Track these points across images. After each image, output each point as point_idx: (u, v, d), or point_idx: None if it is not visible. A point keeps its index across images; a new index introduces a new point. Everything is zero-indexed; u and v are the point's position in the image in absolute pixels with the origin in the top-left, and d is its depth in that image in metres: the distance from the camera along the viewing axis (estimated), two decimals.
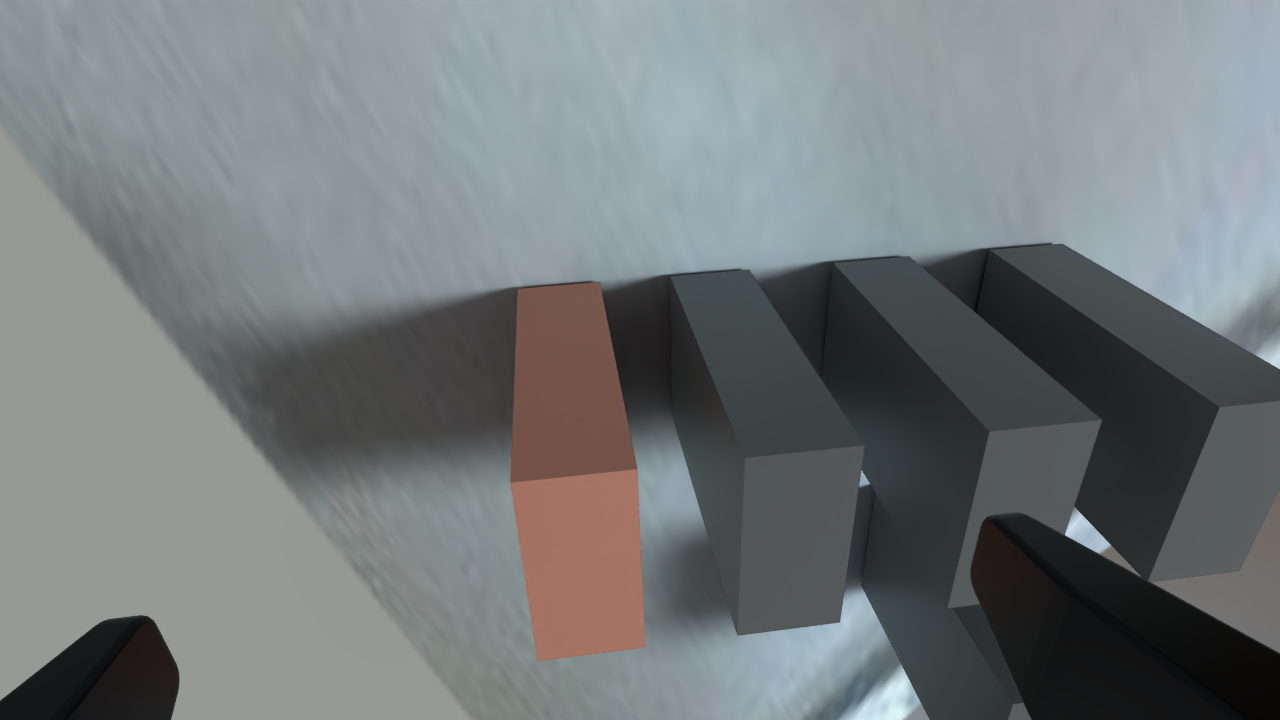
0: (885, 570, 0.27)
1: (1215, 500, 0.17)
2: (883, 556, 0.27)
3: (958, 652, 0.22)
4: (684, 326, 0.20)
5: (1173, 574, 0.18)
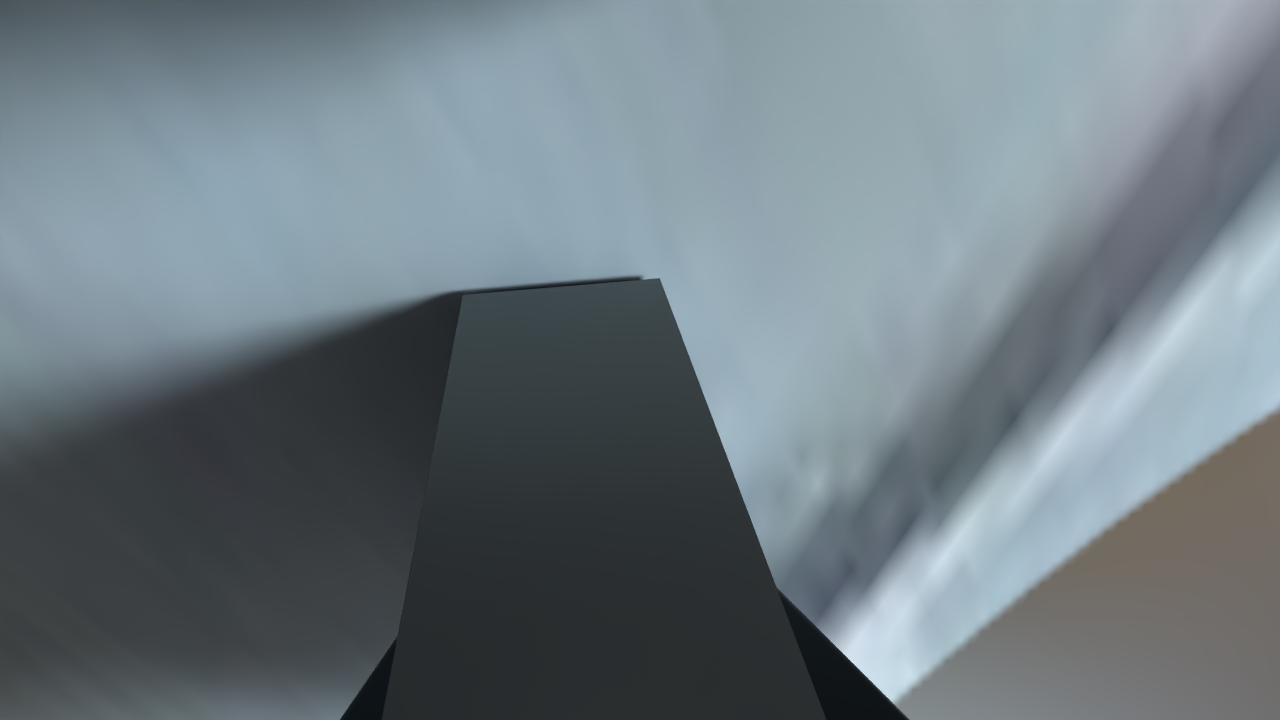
0: None
1: None
2: None
3: None
4: None
5: None
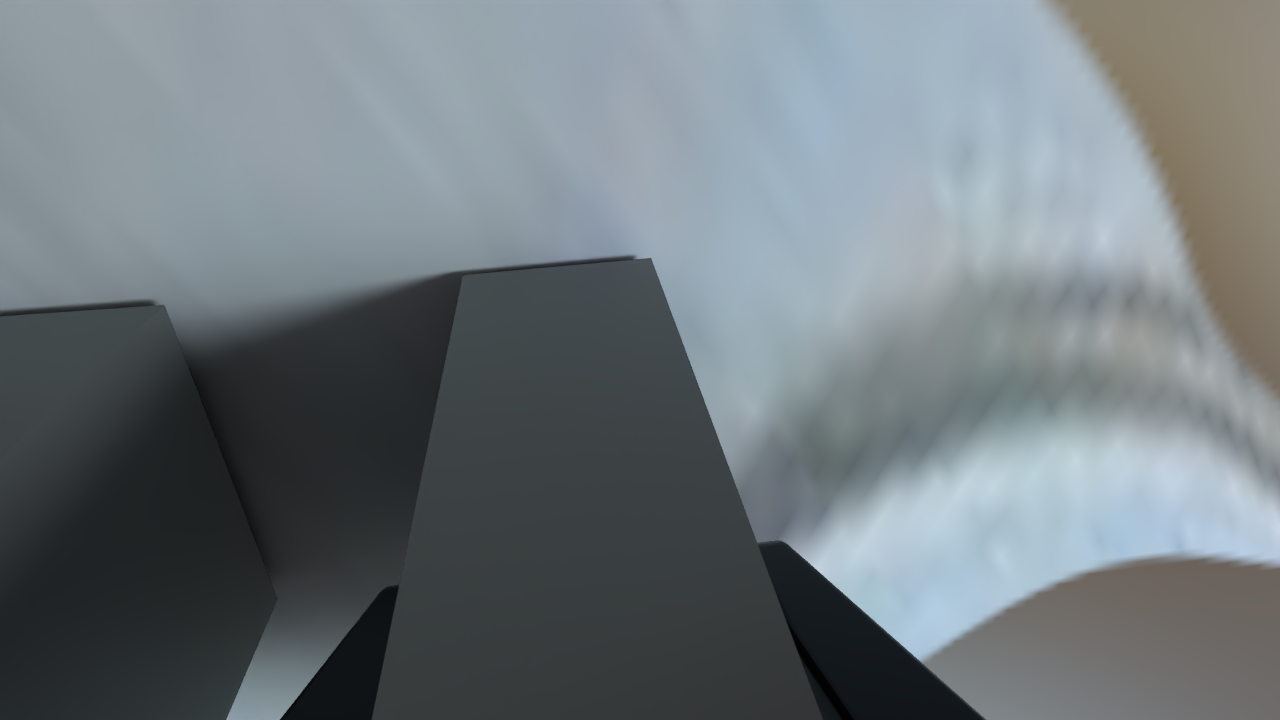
0: None
1: None
2: None
3: None
4: None
5: None
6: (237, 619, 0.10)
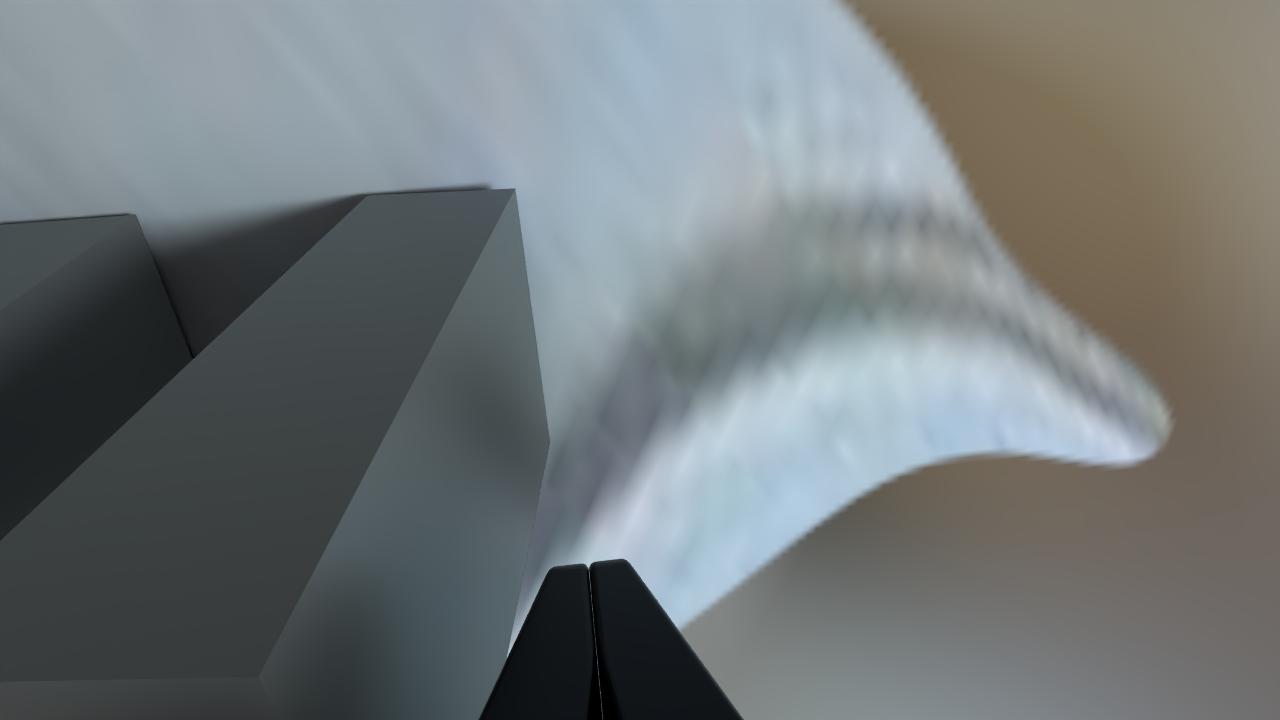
0: None
1: None
2: None
3: None
4: None
5: None
6: None
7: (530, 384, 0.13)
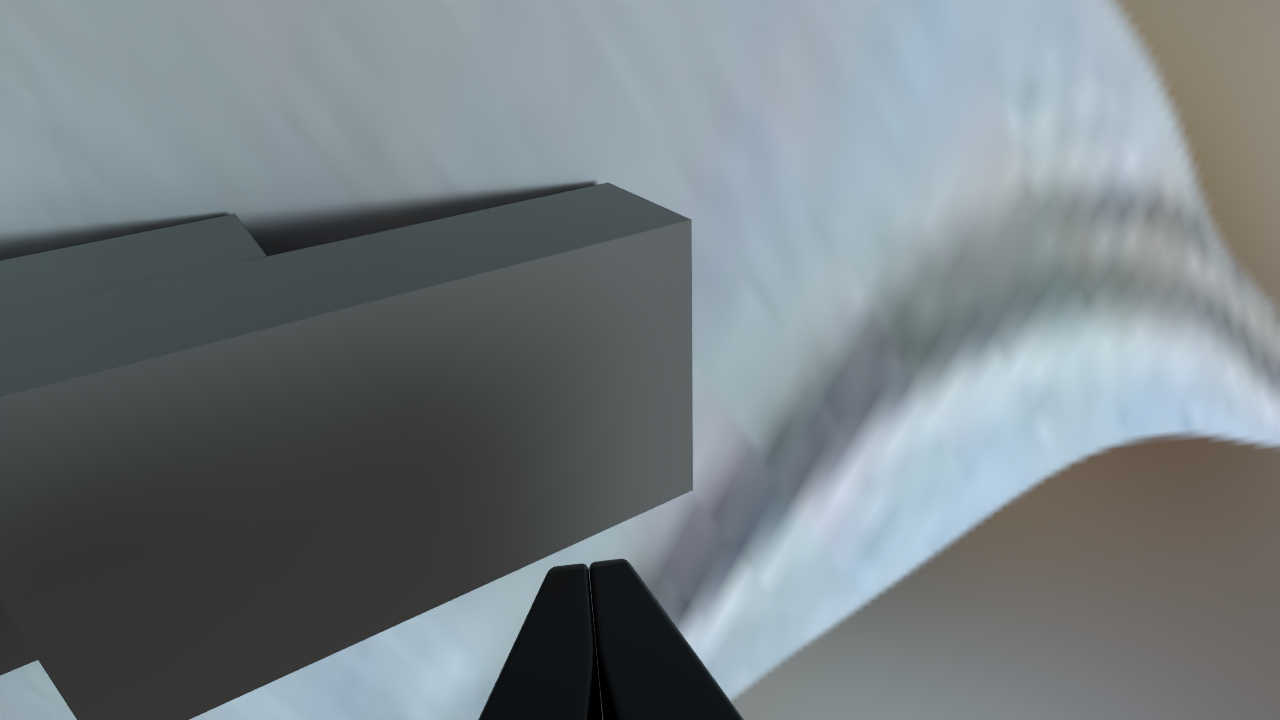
0: None
1: None
2: None
3: None
4: None
5: None
6: None
7: (643, 418, 0.12)
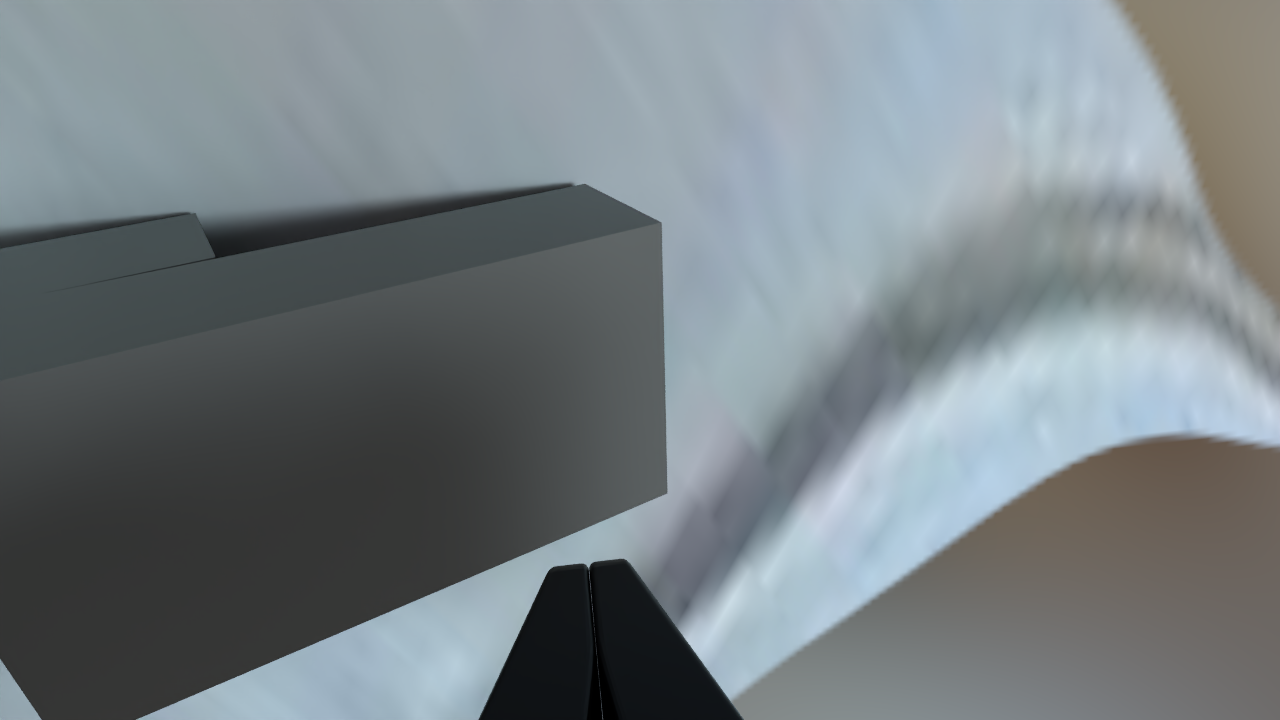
0: None
1: None
2: None
3: None
4: None
5: None
6: None
7: (614, 421, 0.12)
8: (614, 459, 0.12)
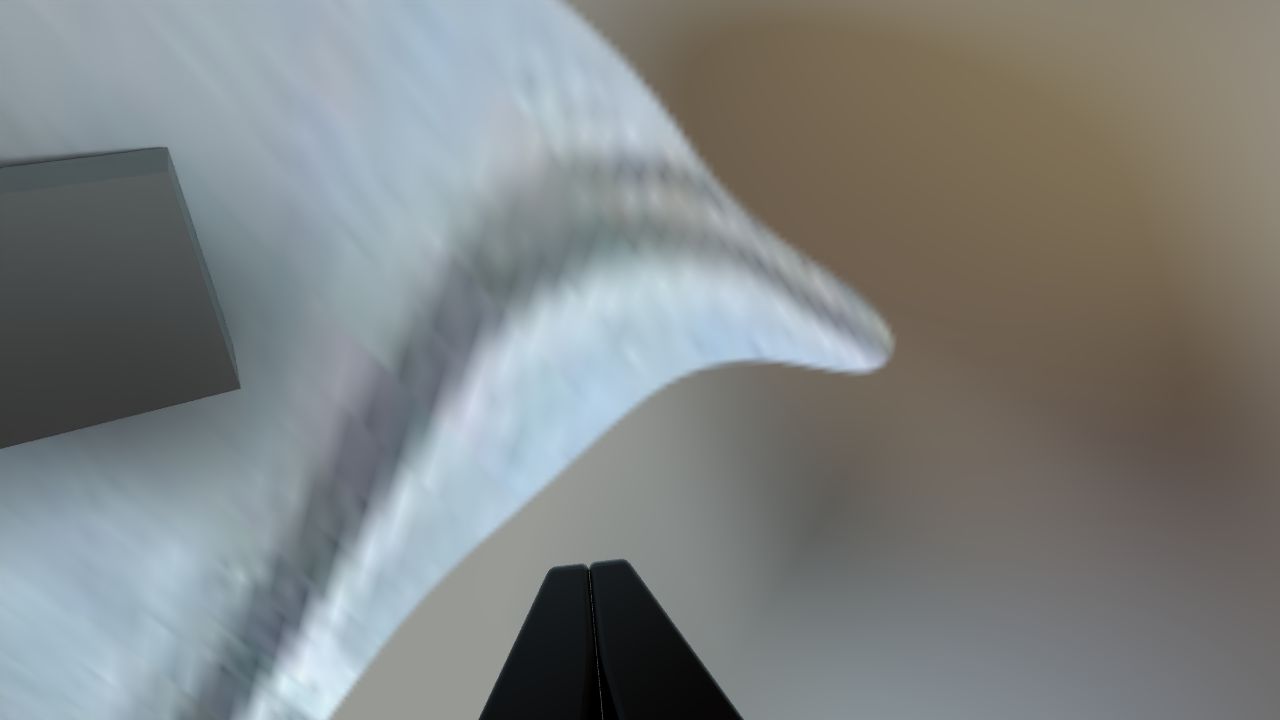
0: None
1: None
2: None
3: None
4: None
5: None
6: None
7: (165, 323, 0.16)
8: (174, 354, 0.16)
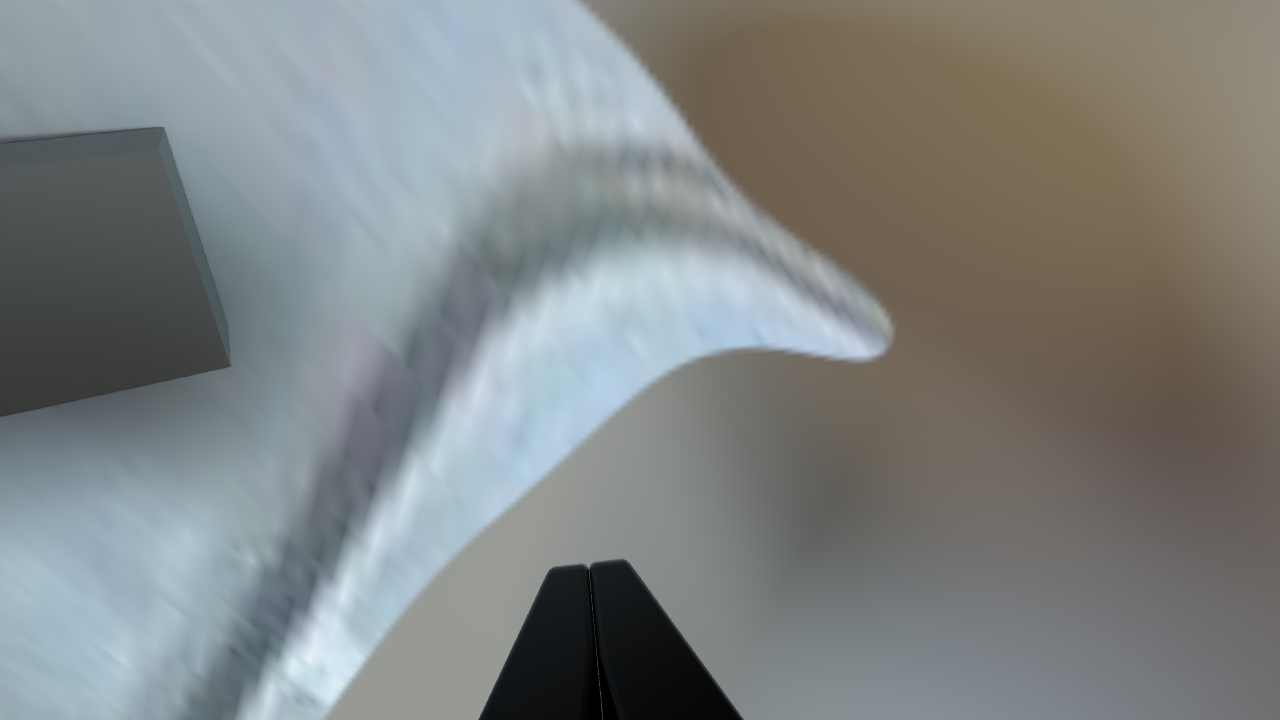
0: None
1: None
2: None
3: None
4: None
5: None
6: None
7: (156, 300, 0.16)
8: (164, 331, 0.16)
